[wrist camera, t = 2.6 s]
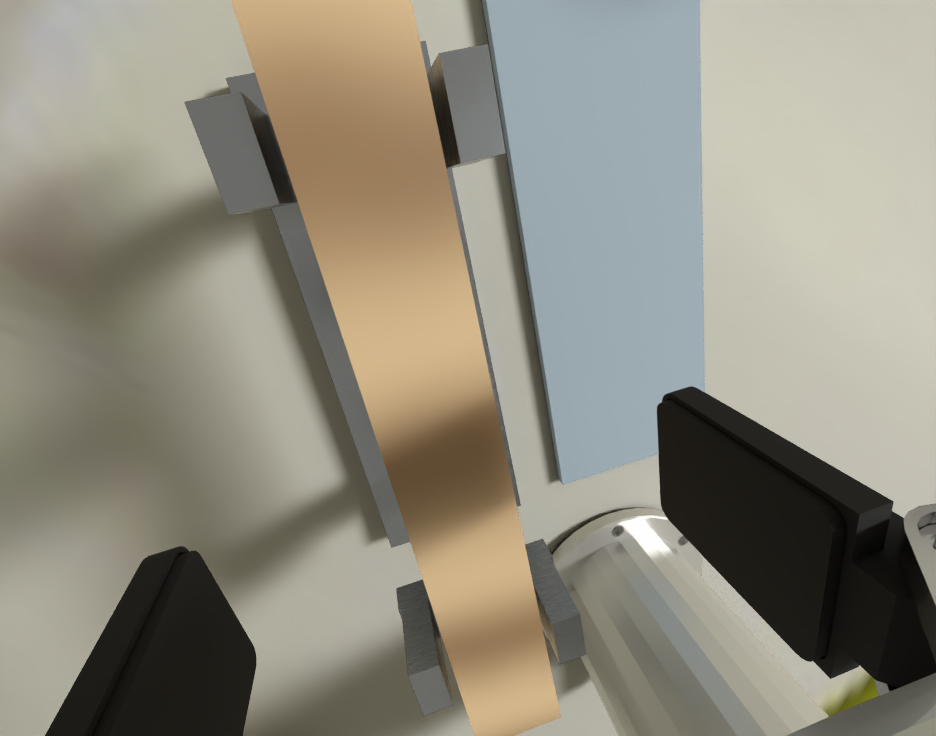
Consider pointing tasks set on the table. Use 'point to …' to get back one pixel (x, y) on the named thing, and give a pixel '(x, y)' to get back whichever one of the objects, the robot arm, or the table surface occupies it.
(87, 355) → the table surface
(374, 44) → the oak rail
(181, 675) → the robot arm
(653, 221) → the slate mat
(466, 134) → the stand
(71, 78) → the table surface
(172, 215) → the table surface
